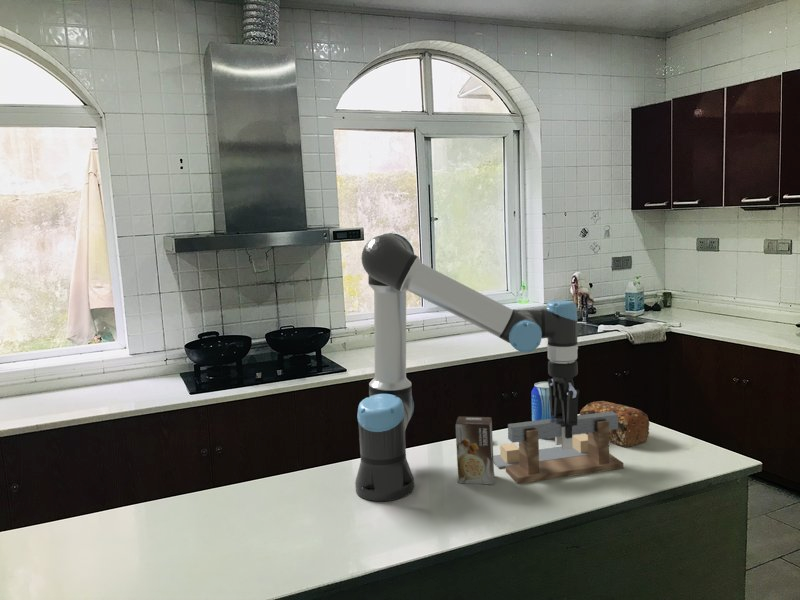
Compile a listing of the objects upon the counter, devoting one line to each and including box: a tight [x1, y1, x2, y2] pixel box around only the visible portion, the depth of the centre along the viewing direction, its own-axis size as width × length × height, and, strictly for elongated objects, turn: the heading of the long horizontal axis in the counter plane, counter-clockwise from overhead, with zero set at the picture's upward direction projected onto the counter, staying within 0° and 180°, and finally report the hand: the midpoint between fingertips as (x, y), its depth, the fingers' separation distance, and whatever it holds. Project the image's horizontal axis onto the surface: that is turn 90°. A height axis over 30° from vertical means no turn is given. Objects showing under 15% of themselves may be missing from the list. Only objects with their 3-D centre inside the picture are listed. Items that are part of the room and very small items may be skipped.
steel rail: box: [507, 411, 618, 444], centre depth 169 cm, size 30×3×4 cm, turn 102°
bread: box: [579, 400, 650, 448], centre depth 193 cm, size 19×11×10 cm, turn 28°
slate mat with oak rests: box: [493, 433, 588, 469], centre depth 181 cm, size 32×8×4 cm, turn 102°
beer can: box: [530, 381, 555, 440], centre depth 196 cm, size 8×8×16 cm
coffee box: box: [455, 416, 496, 485], centre depth 167 cm, size 9×6×16 cm
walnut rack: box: [505, 420, 624, 484], centre depth 170 cm, size 30×8×13 cm, turn 102°
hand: (563, 446), depth 170 cm, fingers closed on steel rail, 3 cm apart
